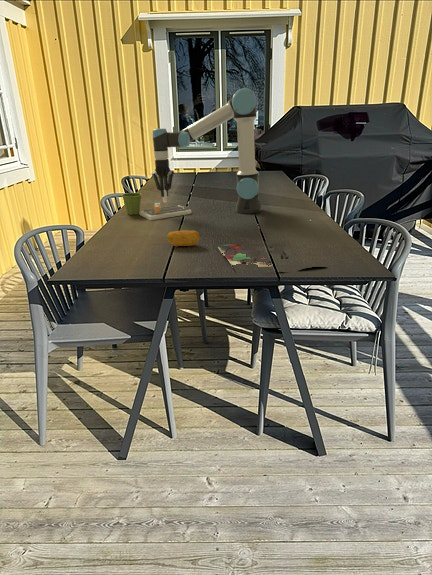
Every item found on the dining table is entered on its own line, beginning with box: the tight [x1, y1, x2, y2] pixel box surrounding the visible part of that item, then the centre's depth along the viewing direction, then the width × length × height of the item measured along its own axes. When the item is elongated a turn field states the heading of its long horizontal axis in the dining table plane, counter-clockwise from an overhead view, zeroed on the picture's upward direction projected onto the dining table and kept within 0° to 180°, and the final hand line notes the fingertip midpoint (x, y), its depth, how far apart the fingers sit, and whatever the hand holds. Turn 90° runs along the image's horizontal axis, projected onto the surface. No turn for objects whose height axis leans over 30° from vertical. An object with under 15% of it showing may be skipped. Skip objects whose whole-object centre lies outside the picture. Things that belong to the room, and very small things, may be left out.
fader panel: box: [138, 202, 192, 221], centre depth 231 cm, size 16×26×6 cm, turn 121°
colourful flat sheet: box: [216, 243, 273, 267], centre depth 162 cm, size 35×35×2 cm
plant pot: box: [120, 192, 143, 216], centre depth 233 cm, size 12×12×11 cm
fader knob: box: [153, 205, 160, 213], centre depth 225 cm, size 3×2×4 cm
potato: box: [166, 229, 201, 247], centre depth 177 cm, size 7×14×7 cm, turn 88°
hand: (165, 202), depth 226 cm, fingers closed
